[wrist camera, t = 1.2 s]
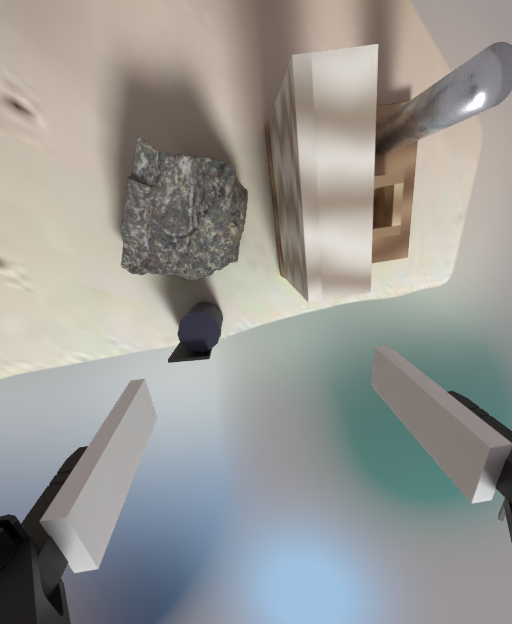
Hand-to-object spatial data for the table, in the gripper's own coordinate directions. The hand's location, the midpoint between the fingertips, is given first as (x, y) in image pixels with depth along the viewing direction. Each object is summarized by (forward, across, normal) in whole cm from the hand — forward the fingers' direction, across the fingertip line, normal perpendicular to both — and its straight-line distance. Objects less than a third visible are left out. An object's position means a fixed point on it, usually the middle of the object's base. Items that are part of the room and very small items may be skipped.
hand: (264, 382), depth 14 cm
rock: (+27, -7, +9) cm, 29 cm away
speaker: (+27, -8, -6) cm, 28 cm away
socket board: (+26, +16, +10) cm, 32 cm away
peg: (+24, +21, +17) cm, 36 cm away
